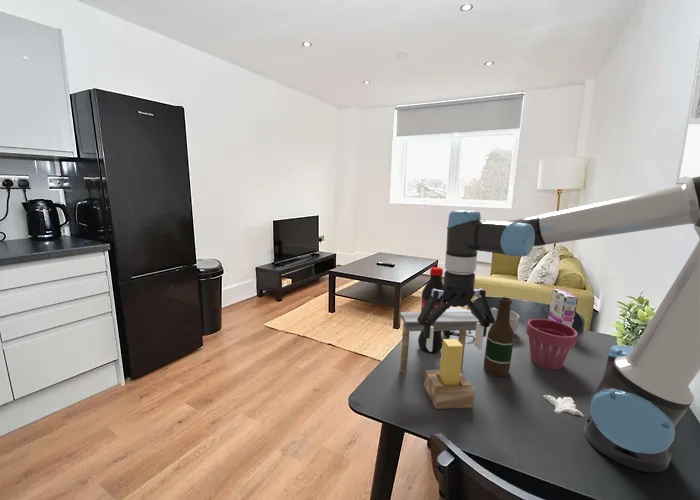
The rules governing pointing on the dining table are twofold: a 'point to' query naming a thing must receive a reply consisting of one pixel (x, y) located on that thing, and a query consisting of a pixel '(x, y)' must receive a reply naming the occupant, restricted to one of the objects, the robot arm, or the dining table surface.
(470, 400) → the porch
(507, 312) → the beer bottle
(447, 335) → the sunglasses
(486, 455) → the dining table surface
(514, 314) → the teacup
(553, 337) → the plant pot
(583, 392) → the dining table surface
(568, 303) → the candy bar box
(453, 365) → the peg
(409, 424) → the dining table surface
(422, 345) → the cola bottle
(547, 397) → the acanthus leaf ornament
